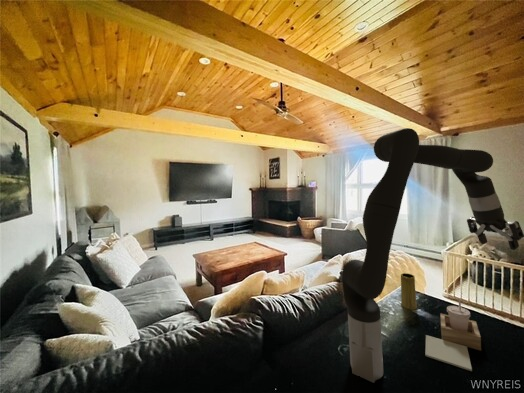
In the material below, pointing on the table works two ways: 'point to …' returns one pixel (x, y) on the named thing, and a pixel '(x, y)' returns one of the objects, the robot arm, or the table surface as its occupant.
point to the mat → (448, 352)
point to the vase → (408, 291)
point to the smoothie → (458, 317)
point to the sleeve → (461, 333)
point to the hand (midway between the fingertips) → (498, 245)
